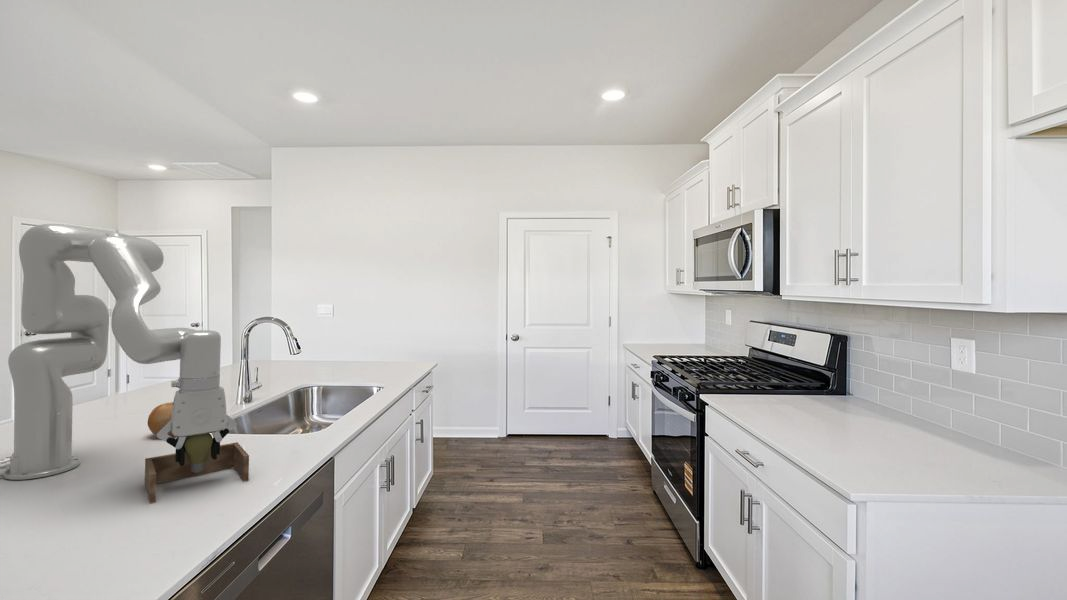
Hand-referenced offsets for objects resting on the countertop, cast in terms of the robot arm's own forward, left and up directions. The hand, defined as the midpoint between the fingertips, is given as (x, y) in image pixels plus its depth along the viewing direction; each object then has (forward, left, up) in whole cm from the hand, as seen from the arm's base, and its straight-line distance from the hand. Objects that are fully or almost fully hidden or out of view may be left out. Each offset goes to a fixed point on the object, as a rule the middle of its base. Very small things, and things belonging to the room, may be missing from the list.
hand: (197, 460), depth 105 cm
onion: (-1, +45, -6) cm, 45 cm away
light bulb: (0, 0, -3) cm, 3 cm away
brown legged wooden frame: (0, 0, -5) cm, 5 cm away
